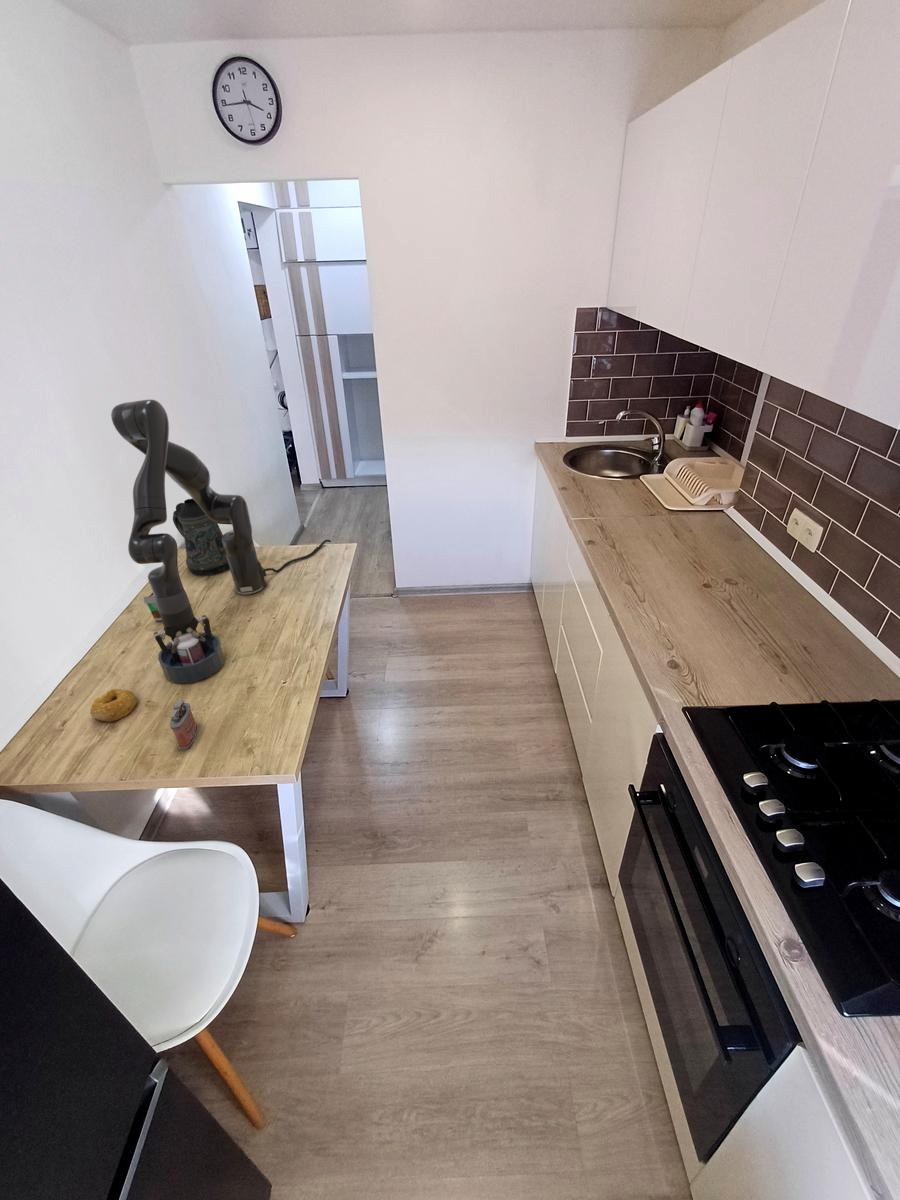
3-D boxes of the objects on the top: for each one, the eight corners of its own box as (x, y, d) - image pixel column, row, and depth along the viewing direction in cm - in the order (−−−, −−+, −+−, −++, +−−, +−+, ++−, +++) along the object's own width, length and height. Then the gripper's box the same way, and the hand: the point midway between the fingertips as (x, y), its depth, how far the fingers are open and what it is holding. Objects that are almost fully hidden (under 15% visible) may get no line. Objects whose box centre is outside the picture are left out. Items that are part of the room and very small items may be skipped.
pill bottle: (205, 654, 161) (194, 622, 155) (207, 667, 156) (196, 634, 150) (182, 661, 159) (170, 629, 153) (183, 674, 154) (171, 641, 148)
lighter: (187, 726, 138) (174, 695, 133) (201, 725, 138) (189, 693, 133) (176, 751, 131) (162, 719, 126) (191, 750, 131) (178, 718, 126)
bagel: (147, 697, 148) (141, 683, 145) (118, 727, 139) (111, 713, 136) (114, 693, 150) (108, 679, 147) (84, 722, 141) (76, 708, 138)
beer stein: (227, 575, 201) (208, 509, 188) (173, 578, 201) (150, 512, 188) (241, 553, 215) (224, 491, 202) (190, 556, 215) (170, 493, 202)
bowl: (215, 642, 167) (210, 625, 164) (233, 669, 156) (227, 651, 153) (159, 664, 159) (152, 647, 156) (173, 693, 148) (166, 675, 145)
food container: (170, 626, 175) (160, 599, 170) (153, 624, 176) (142, 597, 171) (193, 605, 185) (184, 578, 180) (176, 603, 187) (167, 577, 181)
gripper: (147, 621, 141) (168, 674, 150) (206, 601, 148) (222, 653, 157) (140, 609, 146) (161, 660, 155) (198, 590, 153) (214, 640, 162)
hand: (192, 656), depth 156 cm, fingers closed on pill bottle, 6 cm apart
